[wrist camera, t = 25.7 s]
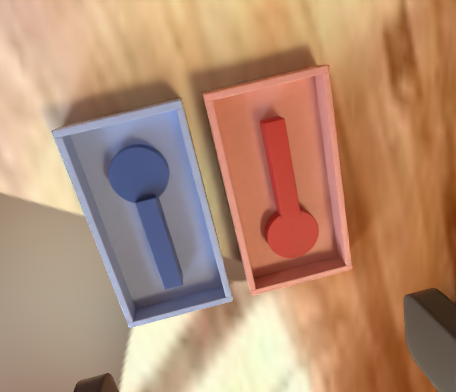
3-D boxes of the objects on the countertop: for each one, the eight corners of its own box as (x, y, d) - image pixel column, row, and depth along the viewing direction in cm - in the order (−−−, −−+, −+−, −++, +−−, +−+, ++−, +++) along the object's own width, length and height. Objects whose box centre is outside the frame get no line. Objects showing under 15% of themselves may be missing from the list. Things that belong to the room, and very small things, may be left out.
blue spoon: (199, 271, 35) (200, 281, 34) (149, 284, 35) (147, 294, 33) (160, 137, 31) (159, 141, 29) (102, 152, 30) (98, 156, 29)
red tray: (201, 92, 30) (203, 94, 28) (317, 65, 31) (328, 64, 28) (246, 281, 37) (251, 296, 35) (341, 257, 37) (352, 269, 35)
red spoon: (241, 125, 31) (244, 128, 29) (296, 111, 31) (303, 113, 30) (269, 258, 36) (274, 267, 34) (317, 245, 36) (324, 253, 34)
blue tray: (61, 126, 30) (51, 130, 27) (181, 97, 30) (181, 99, 28) (132, 312, 36) (129, 328, 34) (230, 286, 37) (233, 301, 34)
